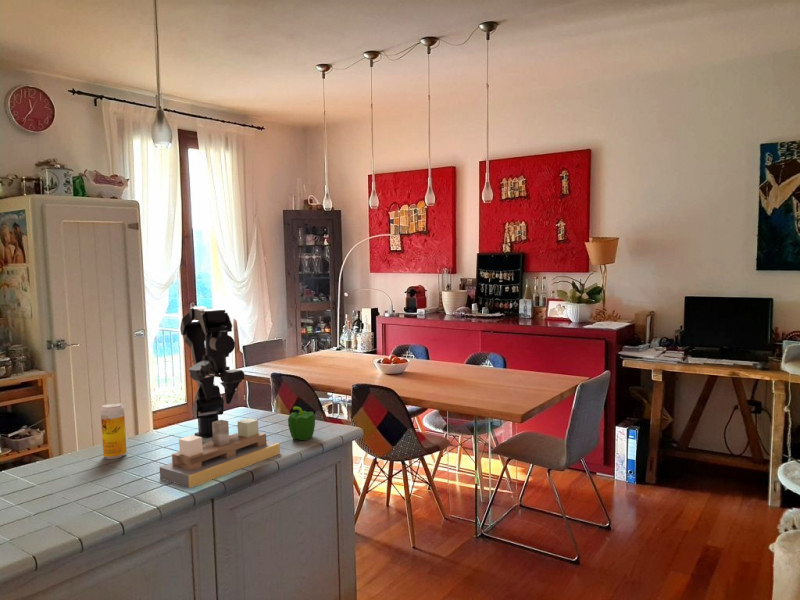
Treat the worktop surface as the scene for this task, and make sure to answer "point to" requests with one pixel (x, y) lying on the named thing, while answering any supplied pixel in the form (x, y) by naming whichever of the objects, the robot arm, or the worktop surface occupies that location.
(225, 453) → the pallet
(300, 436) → the bell pepper
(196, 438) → the block
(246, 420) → the pale olive cube
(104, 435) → the beer can
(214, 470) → the dock
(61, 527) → the worktop surface
